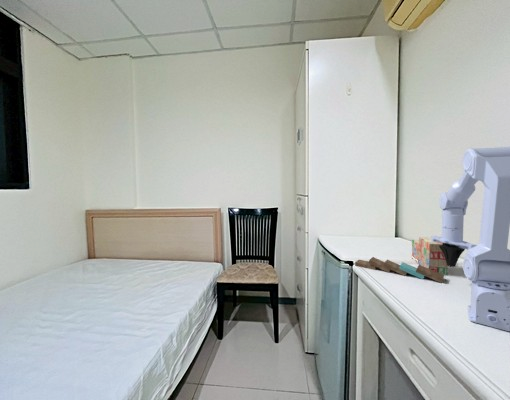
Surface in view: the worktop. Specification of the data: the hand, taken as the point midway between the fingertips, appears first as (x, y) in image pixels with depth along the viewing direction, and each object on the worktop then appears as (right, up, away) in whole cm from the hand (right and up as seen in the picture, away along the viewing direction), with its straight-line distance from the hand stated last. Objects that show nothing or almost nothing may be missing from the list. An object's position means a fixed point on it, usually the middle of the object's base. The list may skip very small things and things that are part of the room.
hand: (451, 265), depth 83 cm
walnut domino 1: (-18, -5, +16) cm, 25 cm away
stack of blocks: (+5, -5, +18) cm, 20 cm away
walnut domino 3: (-10, -5, +9) cm, 14 cm away
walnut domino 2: (-14, -5, +12) cm, 19 cm away
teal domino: (-6, -5, +5) cm, 9 cm away
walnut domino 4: (-2, -5, +2) cm, 6 cm away
